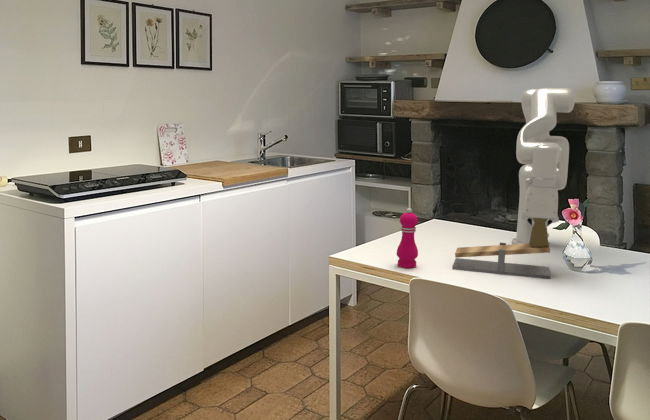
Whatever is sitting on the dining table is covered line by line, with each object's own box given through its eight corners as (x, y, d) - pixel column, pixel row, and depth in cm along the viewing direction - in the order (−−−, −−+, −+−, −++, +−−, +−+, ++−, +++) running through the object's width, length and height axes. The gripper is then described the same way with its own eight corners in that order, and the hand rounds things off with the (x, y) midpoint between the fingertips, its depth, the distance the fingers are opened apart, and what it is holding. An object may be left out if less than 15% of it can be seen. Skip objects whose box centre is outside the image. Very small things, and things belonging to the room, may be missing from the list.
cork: (549, 247, 199) (551, 213, 197) (530, 246, 200) (531, 213, 198) (547, 242, 205) (548, 210, 203) (528, 242, 206) (529, 209, 204)
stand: (452, 269, 207) (453, 245, 205) (455, 260, 217) (456, 238, 216) (550, 278, 198) (552, 254, 196) (548, 269, 208) (550, 246, 207)
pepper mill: (402, 261, 215) (404, 205, 211) (421, 265, 211) (423, 207, 207) (392, 266, 209) (394, 208, 205) (411, 270, 205) (414, 211, 201)
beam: (455, 259, 208) (454, 253, 207) (457, 253, 215) (457, 247, 215) (550, 254, 198) (549, 248, 198) (549, 248, 206) (548, 242, 205)
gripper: (517, 183, 197) (513, 239, 201) (569, 186, 193) (564, 243, 196) (517, 180, 204) (513, 234, 208) (567, 183, 200) (562, 238, 203)
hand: (538, 238), depth 202 cm, fingers closed on cork, 1 cm apart
